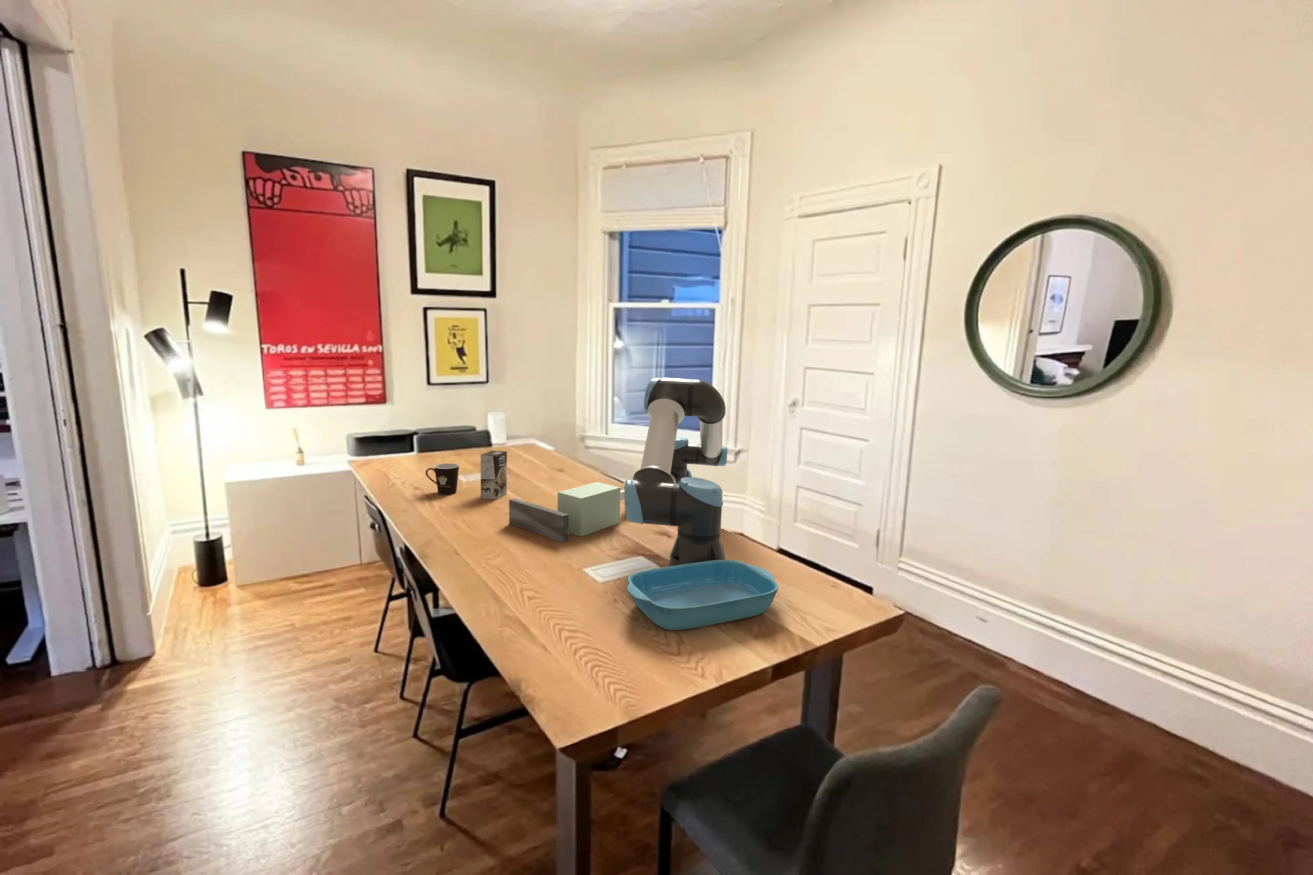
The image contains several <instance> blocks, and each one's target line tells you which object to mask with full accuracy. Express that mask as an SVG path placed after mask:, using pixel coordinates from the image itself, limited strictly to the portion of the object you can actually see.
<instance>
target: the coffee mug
mask: <svg viewBox="0 0 1313 875" xmlns="http://www.w3.org/2000/svg"><path fill="white" fill-rule="evenodd" d="M429 470H432V471H433V472H434V473H435V480H434V479H432V477H430V476H429V474H428V473H429ZM459 470H460V465H459V464H457V463H439V464H438V463H437V464H435V465H434V468H433V467H429V468H427V469H426V470H425V476H426V477H427V478H428V479H429V480H430V481H431V482H433V484H435V485H436V486H437V493H438V494H439V495H442V496H443V495H444V496H451V495H455V494H457V490H458V479H459Z"/></svg>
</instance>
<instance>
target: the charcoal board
mask: <svg viewBox="0 0 1313 875" xmlns="http://www.w3.org/2000/svg"><path fill="white" fill-rule="evenodd" d="M508 524H509V525H510V524H511V525H510V526H513V525H514V526H513V527H516V526H517V528H519V529H522V530H525V531H528V532H531V533H534V534H536V533H537V535H540V536H543V537H546V538H549V539H552V540H554V541H557V542H561V543H565V542H568V541H569V534H570V533H569V514H566V513H562V512H559V511H558V510H555V509H552V508H549V507H546V506H543V505H539V504H536V503H532V502H528V501H525V500H522V499H519V498H516V497H514V498H511V499H509V500H508Z"/></svg>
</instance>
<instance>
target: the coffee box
mask: <svg viewBox="0 0 1313 875" xmlns="http://www.w3.org/2000/svg"><path fill="white" fill-rule="evenodd" d="M507 494H508V451H507V450H505V451H504V450H492V449H491V450H489V451H487V452H483V453H481V454H480V499H487V500H493V501H494V500H498V499H500V498H502V497H504V496H505V495H507Z"/></svg>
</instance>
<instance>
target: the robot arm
mask: <svg viewBox="0 0 1313 875" xmlns="http://www.w3.org/2000/svg"><path fill="white" fill-rule="evenodd" d="M644 392H645V393H644V398H643V409H644V411H645V414H647V416H648V418H649V420H650V421H649V425H648V429H647V430H648V431H647V435H646V440H645V445H644V449H643V455H642V459H641V464H640V468H639V469H638V470H637V471H636V472H635V473H634V474H633V477H632V478H629V479H626V480H625V482H624V486H623V490H621V489H620V501H623V500H624V513H625V517H626V519H627V521H628V522H630V523H636V524H640V525H644V524H645V525H647V524H648V525H658V526H669V527H677V534H676V539H675V541H674V544H673V546H672V549H671V551H670V555H669V564H670V566H676V565H683V564H690V563H697V562H704V561H713V560H726V554H725V552H724V548H723V544H722V540H721V533H722V532H721V531H722V511H723V509H722V508H723V505H724V501H723V490H722V488H721V486H720V485H719V484H718V483H717V482H714V481H712V480H709V479H705V478H701V477H696V476H694V477H693V475H692V473H691V471H690V469H689V468H688V465H697V466H698V465H700V466H711V467H712V466H713V467H725V466H726V465H727V461H728V447H727V446H725V445H723V419H724V418H725V416H726V411H727V410H726V402H725V399H724V397H723V395H721V393H720V391H718V389H717V388H715V387H714V386H713V385H712V384H710V383H709V382H707V381H704V380H701V379H691V378H689V379H688V378H675V377H674V378H673V377H665V376H663V377H654V378H651V379H650V380H649V381H648V383H647V385H646V388H645V391H644ZM685 417H696V418H697V419H698V421H699V434H700V436H699V437H700V444H698V443H697V444H696V443H690V441H689V439H688V438H687V437H683V436H677V435H678V428H679V425H680V424H681V423H682V422H683V421H684V419H685Z"/></svg>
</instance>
